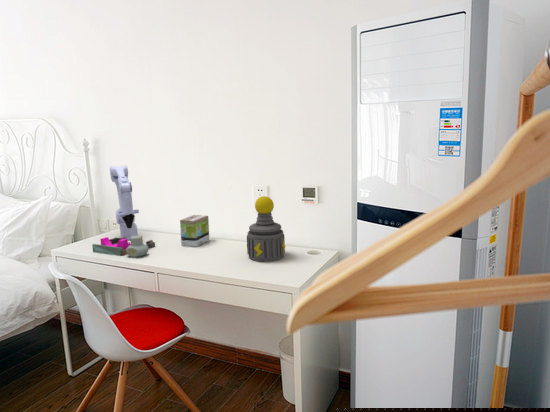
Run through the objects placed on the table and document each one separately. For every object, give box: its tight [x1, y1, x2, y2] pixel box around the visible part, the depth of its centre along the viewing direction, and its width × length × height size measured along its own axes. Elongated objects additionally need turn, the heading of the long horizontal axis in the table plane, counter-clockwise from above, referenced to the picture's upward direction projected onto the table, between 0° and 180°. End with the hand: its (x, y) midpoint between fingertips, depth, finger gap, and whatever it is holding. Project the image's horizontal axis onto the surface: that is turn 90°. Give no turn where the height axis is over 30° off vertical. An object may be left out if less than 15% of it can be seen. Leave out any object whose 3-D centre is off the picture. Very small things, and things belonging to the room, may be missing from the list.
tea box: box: [179, 214, 210, 248], centre depth 238 cm, size 15×10×15 cm
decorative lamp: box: [246, 195, 286, 263], centre depth 208 cm, size 19×19×30 cm
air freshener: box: [126, 234, 150, 258], centre depth 219 cm, size 11×8×10 cm
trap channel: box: [91, 237, 156, 257], centre depth 234 cm, size 23×29×4 cm
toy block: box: [99, 236, 131, 250], centre depth 227 cm, size 15×6×8 cm, turn 68°
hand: (129, 228), depth 240 cm, fingers closed
